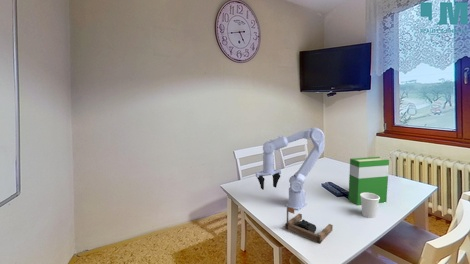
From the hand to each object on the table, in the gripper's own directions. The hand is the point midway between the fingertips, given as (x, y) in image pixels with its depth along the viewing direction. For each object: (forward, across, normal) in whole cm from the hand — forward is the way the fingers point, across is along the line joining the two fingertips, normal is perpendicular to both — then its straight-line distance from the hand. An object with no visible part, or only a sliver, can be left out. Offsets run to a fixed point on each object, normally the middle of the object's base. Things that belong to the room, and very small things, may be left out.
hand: (268, 187), depth 126 cm
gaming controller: (+10, +3, -29) cm, 31 cm away
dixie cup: (+10, +39, -30) cm, 50 cm away
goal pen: (+9, +4, -29) cm, 31 cm away
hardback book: (+10, +52, -18) cm, 56 cm away
